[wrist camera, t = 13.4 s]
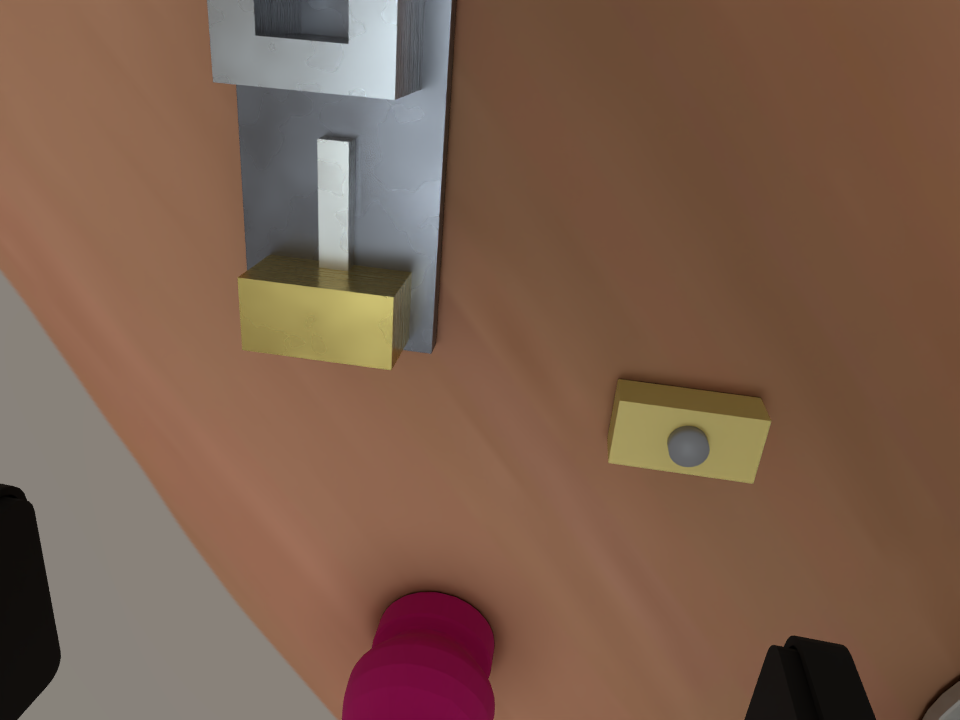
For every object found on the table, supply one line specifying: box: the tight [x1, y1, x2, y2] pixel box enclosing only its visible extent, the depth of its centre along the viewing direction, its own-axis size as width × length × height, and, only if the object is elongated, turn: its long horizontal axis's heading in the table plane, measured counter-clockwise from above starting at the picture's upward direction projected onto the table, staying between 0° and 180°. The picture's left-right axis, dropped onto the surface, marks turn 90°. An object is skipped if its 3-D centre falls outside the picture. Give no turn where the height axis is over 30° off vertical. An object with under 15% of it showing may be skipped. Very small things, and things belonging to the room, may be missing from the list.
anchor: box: [607, 379, 771, 484], centre depth 31 cm, size 6×3×3 cm, turn 85°
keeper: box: [236, 0, 457, 370], centre depth 26 cm, size 8×20×5 cm, turn 175°
